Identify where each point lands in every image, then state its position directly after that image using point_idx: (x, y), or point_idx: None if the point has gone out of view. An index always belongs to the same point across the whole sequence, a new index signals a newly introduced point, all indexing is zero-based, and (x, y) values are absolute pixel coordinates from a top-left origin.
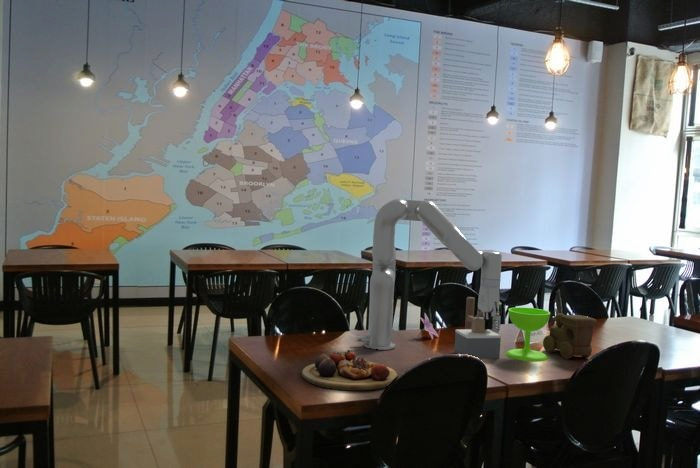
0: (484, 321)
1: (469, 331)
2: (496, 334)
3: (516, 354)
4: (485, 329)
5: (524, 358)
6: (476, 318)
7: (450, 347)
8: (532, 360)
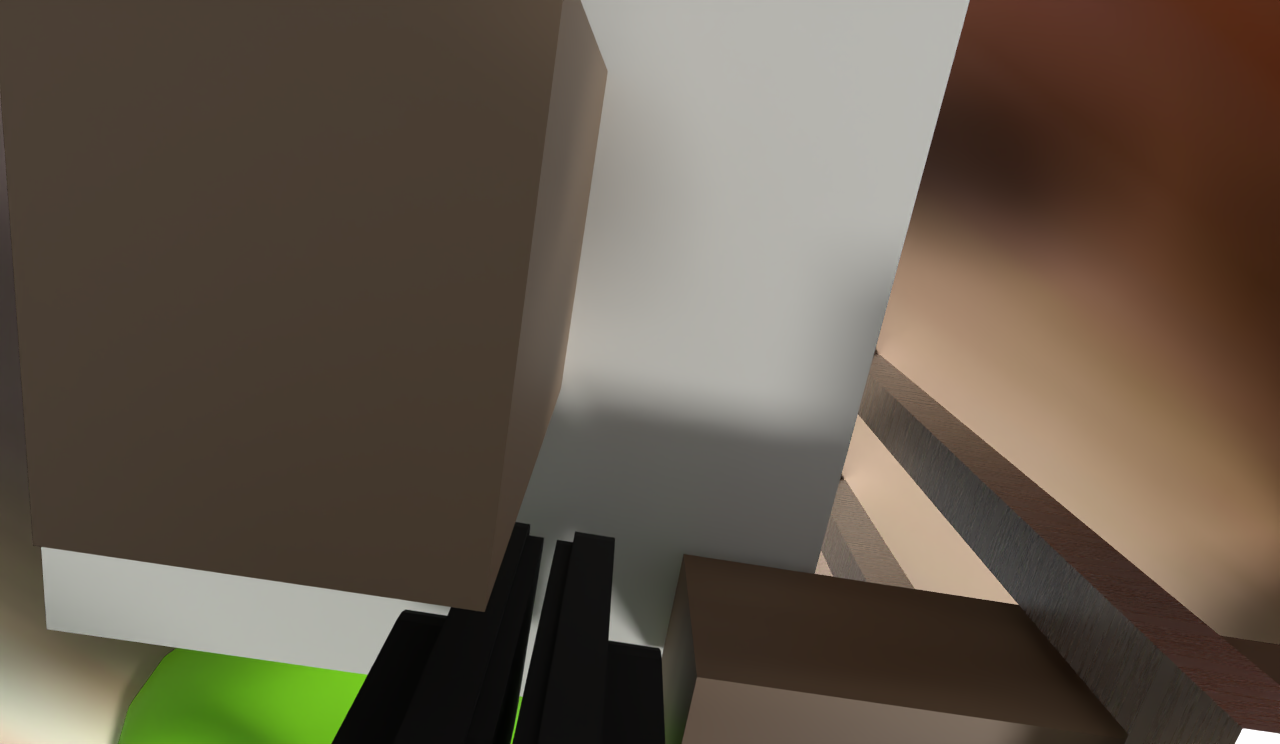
0: (79, 496)
1: (638, 6)
2: (153, 585)
3: (329, 698)
4: (673, 614)
5: (155, 685)
6: (1213, 730)
7: (1129, 36)
8: (119, 740)
